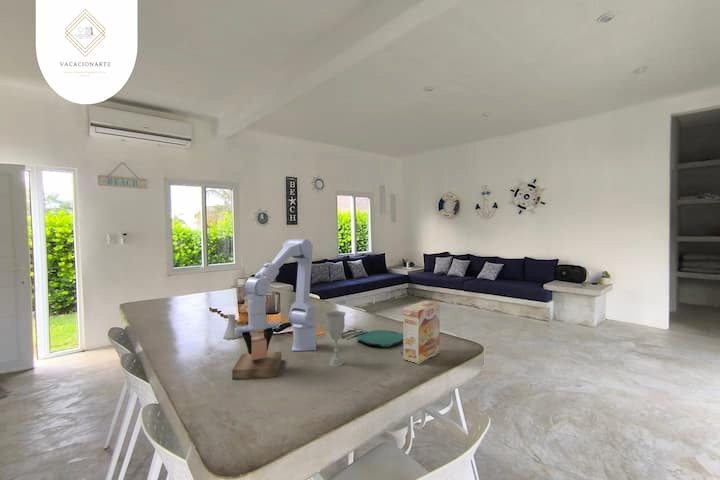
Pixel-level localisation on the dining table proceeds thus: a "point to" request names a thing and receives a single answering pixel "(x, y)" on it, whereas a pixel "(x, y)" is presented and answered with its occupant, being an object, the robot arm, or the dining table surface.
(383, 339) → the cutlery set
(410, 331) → the coffeecake box
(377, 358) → the dining table surface
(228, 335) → the flask
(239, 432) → the dining table surface
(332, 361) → the chalice
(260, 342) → the terracotta block
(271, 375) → the walnut base
